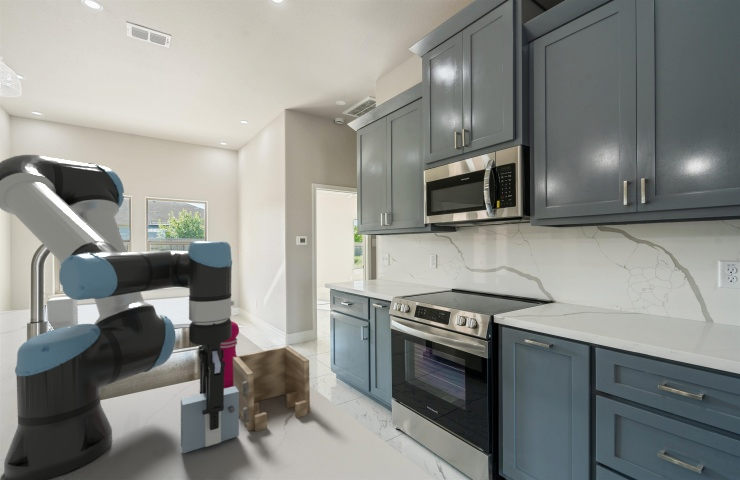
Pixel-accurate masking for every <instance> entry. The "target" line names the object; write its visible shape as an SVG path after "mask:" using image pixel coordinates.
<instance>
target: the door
mask: <svg viewBox="0 0 740 480" xmlns="http://www.w3.org/2000/svg"><path fill="white" fill-rule="evenodd" d="M203 410H206V393H203V394H200V393H199V394H196V395H190V396H187V397H183V398H180V449H181V452H182V454H185V453H188V452H191V451H195V450H198V449H201V448H205V447H206V446H205V414H204V415H203V414H202V411H203ZM239 429H240V417H239V391H238V389H237V388H236V386H233V387H229V388H225V389H224V410H223V411H221V442H224V441H227V440H230V439H234V438H237V437H239V436H240V430H239Z"/></svg>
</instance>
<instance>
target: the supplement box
mask: <svg viewBox="0 0 740 480" xmlns="http://www.w3.org/2000/svg"><path fill="white" fill-rule="evenodd" d="M46 306H47V307H46V309H47V322H48V321H49V323H50V324H51V326H52V327H53V329H54V330H55V329H59V328H63V327H68V326H69V327H71V326H74V325H79V318H78V317H79V315H78V314H79V313H78V312H79V311H78V300H75V299H71V298H69V297H68V296H62V297H61V296H59V297H52V298H50V299H47V301H46Z"/></svg>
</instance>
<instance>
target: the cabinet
mask: <svg viewBox="0 0 740 480" xmlns="http://www.w3.org/2000/svg"><path fill="white" fill-rule="evenodd" d="M233 386H236V388H237V389H238V391H239V419H241V421H242V422H243V425H244V426H245V427H246V430H247V431H248V432H251V431H253V430H254V431H255V432H258V431H262V430H264V429H268V414H267V412H266V411H263V412H260V403H259V402H260V401H264V400H267V399H271V398H275V397H278V396H279V397H280V396H281V395H285V396H286V397H285V399H286V400H285V401H286V402H285V403H286V404H285V405H286V408H287V409H290V408H294V407H295V408H294V410H295V411H294V415H295V418H296V419H298V418H301V417H305V416H307V415H308V413H309V412H311V405H310V404H311V403H310V402H311V399H310V397H311V396H310V394H311V393H310V389H311V388H310V359H308V358H307V357H305V356H304V355H302V354H301V353H299V352H298V351H296V350H294V348H292V347H290V346H282V347H278V348H277V347H276V348H272V349H268V350H263V351H258V352H252V353H248V354H243V355H242V354H241V355H237V356H236V357H233Z"/></svg>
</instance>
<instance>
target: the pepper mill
mask: <svg viewBox="0 0 740 480" xmlns="http://www.w3.org/2000/svg"><path fill="white" fill-rule="evenodd" d="M229 319H230V320H231V316H230V317H229ZM239 334H240V327H239V325H238V324H237V323H236V322H235V321H232V335H231V338H230V339H228V340H227V341H223V342H222V343H221V344H220V347H221V350H222V349H223V351H224V358H223V361H225V370H224V389H225V388H229V387H233V357H236V356H238V355H237V351H236V350H237V349H236V346H237V345H238V338H237V337H238V336H239Z"/></svg>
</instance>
